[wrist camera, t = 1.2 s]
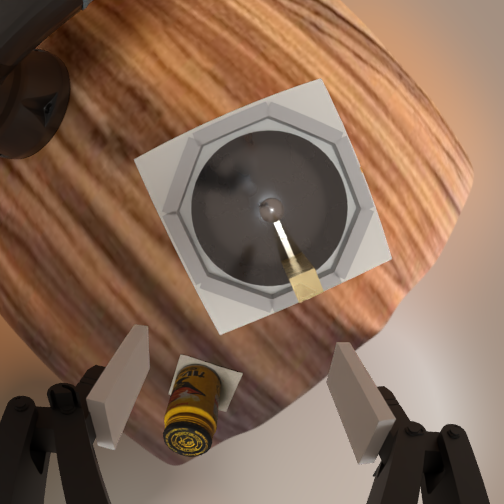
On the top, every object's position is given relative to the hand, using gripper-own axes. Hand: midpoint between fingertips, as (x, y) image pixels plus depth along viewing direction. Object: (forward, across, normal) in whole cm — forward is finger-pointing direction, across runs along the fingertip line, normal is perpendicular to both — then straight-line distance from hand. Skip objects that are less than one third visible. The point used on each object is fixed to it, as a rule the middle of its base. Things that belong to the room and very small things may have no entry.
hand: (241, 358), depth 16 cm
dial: (+18, +2, +6) cm, 20 cm away
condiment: (+21, -3, -18) cm, 28 cm away
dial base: (+21, +2, +6) cm, 22 cm away
